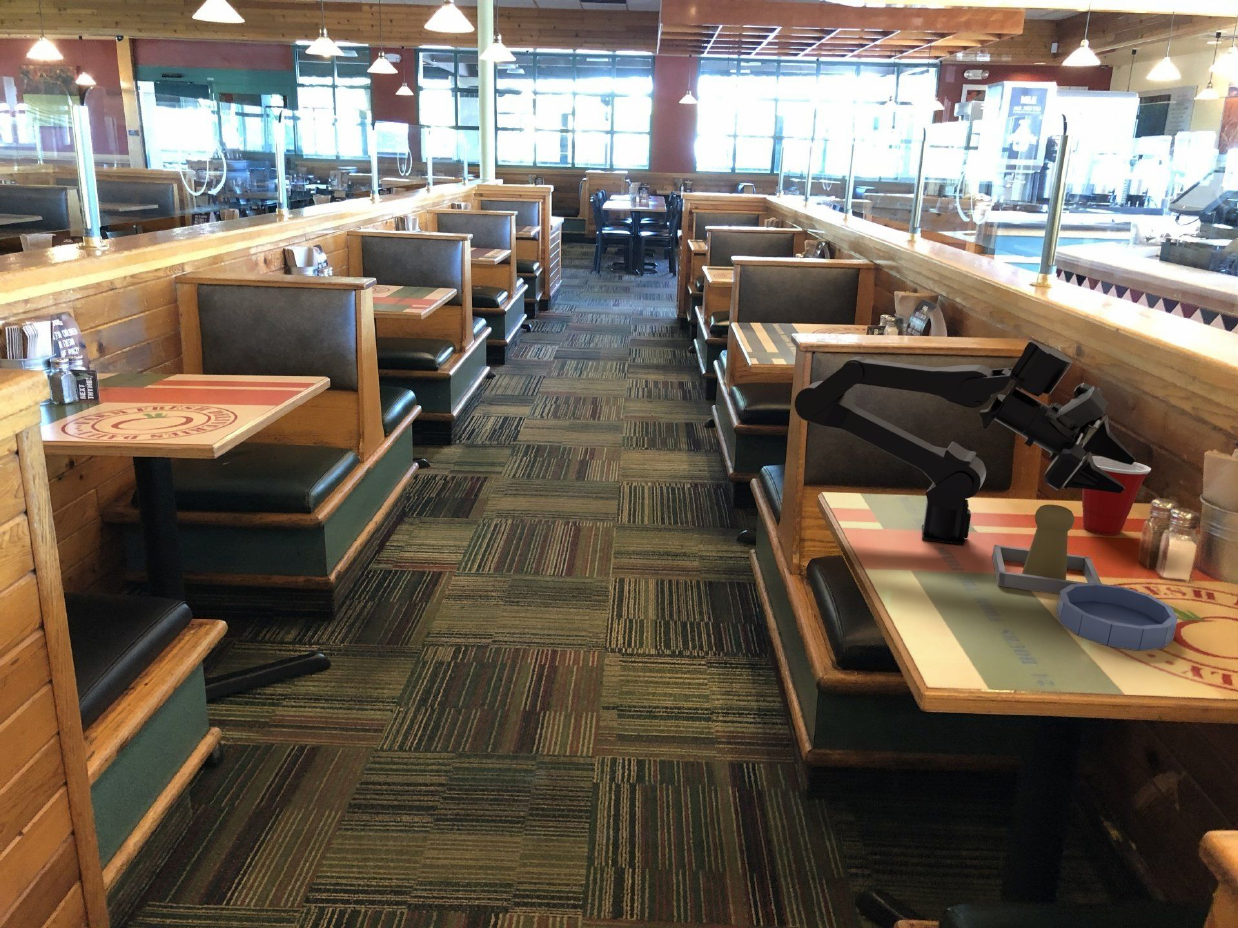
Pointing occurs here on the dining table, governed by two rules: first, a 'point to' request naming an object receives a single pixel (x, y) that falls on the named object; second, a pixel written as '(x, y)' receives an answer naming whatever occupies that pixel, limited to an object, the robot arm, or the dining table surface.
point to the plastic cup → (1112, 497)
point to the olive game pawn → (1050, 542)
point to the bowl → (1116, 616)
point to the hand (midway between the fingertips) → (1128, 476)
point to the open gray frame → (1037, 581)
